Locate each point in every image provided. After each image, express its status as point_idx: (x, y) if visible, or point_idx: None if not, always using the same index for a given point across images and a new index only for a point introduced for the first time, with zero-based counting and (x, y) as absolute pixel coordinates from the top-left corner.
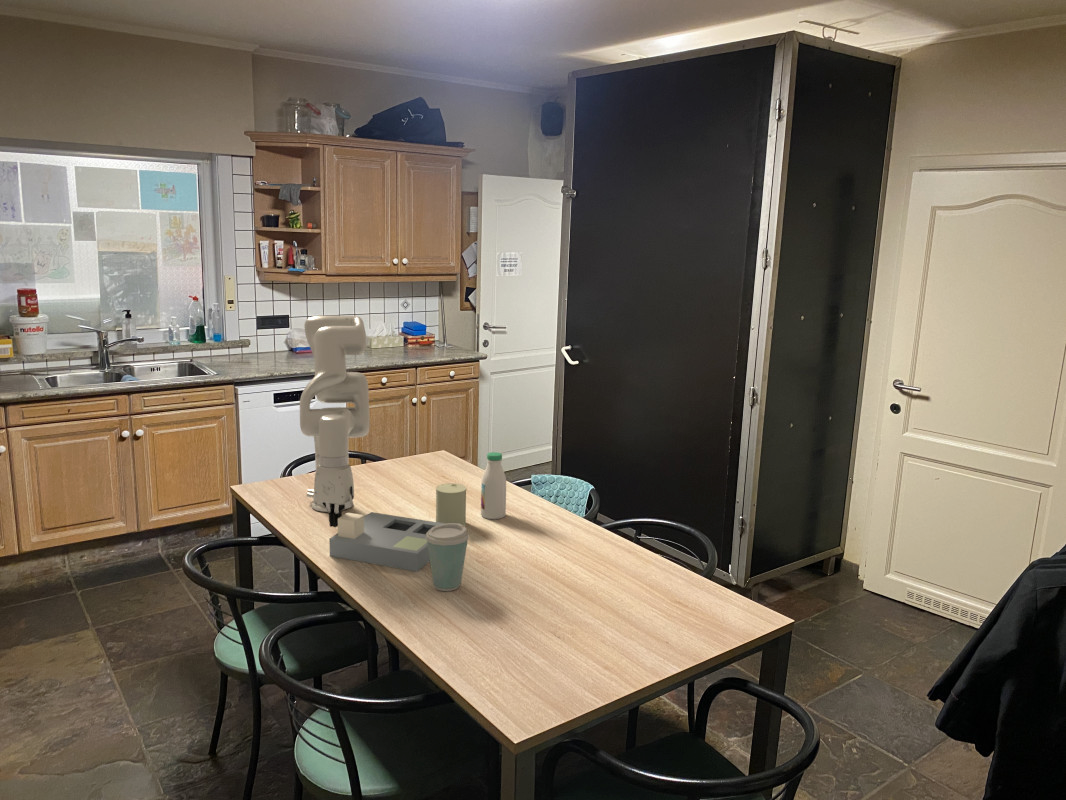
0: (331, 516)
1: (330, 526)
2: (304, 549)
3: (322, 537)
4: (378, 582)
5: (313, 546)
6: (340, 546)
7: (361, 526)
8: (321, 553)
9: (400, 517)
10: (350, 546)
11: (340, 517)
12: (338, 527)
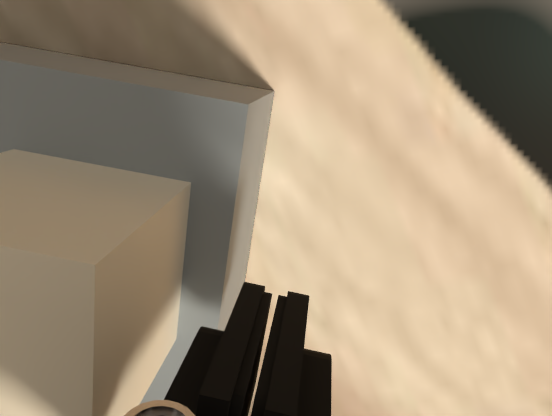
0: (268, 372)
1: (302, 296)
2: (513, 170)
3: (447, 381)
4: None
5: (460, 234)
6: (146, 79)
7: None
8: (354, 125)
9: None
10: (34, 59)
11: (82, 315)
12: (147, 212)
